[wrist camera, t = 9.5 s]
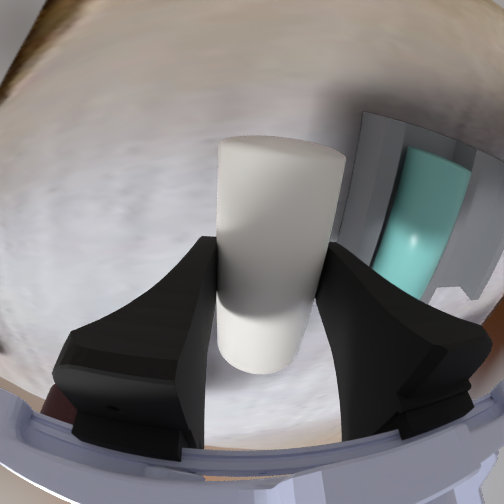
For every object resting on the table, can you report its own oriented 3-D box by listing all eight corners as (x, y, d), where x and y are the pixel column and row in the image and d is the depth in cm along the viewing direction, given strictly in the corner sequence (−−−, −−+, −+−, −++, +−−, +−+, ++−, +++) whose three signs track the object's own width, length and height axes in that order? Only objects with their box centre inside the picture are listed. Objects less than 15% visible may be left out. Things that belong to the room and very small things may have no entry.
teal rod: (395, 141, 13) (437, 162, 10) (442, 156, 14) (484, 178, 10) (358, 270, 18) (381, 311, 15) (403, 271, 19) (428, 307, 15)
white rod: (282, 306, 15) (312, 362, 12) (210, 317, 14) (228, 381, 11) (309, 138, 10) (372, 167, 7) (209, 135, 9) (235, 162, 6)
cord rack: (463, 280, 21) (478, 299, 19) (325, 282, 20) (336, 309, 17) (507, 163, 14) (529, 176, 12) (363, 111, 13) (386, 117, 11)
